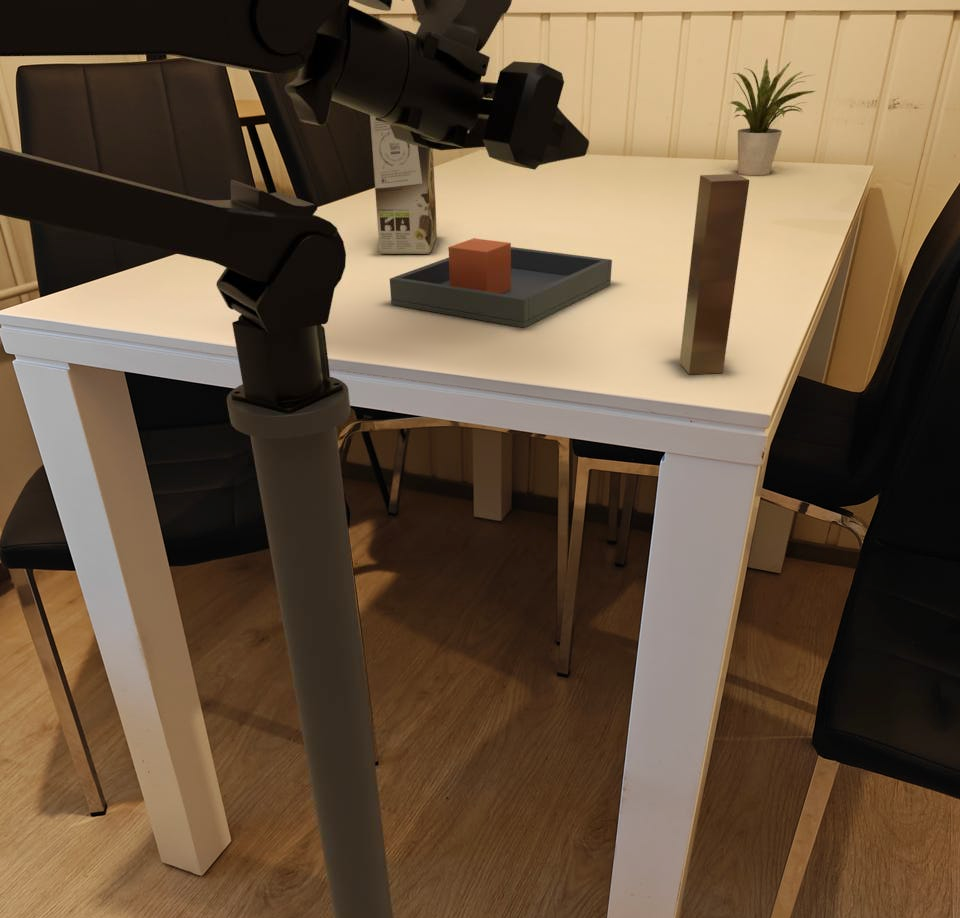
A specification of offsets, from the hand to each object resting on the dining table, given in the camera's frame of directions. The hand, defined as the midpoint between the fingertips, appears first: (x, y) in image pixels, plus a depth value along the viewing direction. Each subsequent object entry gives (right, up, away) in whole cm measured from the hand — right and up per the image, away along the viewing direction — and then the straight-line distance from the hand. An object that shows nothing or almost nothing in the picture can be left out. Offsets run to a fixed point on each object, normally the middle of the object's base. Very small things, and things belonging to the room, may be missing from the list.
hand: (551, 142), depth 74 cm
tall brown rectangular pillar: (+12, -18, 0) cm, 22 cm away
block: (-6, -5, +18) cm, 20 cm away
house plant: (+40, +37, +78) cm, 95 cm away
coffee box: (-14, +8, +38) cm, 42 cm away
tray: (-3, -5, +19) cm, 20 cm away
